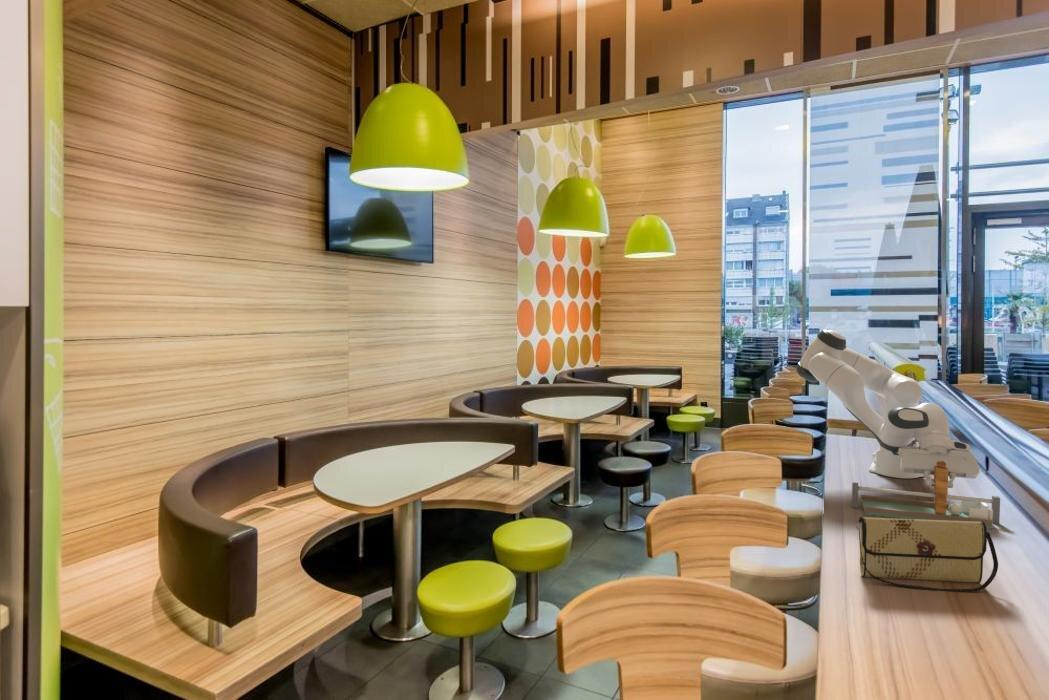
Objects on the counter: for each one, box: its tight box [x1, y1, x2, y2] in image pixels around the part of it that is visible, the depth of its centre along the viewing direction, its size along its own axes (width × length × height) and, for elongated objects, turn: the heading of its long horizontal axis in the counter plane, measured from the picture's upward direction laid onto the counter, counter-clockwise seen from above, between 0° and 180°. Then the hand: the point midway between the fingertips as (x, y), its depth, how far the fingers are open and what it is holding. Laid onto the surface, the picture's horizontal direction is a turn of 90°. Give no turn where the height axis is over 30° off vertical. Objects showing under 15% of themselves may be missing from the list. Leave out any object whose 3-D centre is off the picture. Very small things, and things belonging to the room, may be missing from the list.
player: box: [932, 460, 949, 514], centre depth 178 cm, size 4×3×16 cm
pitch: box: [851, 481, 1001, 530], centre depth 181 cm, size 13×38×8 cm, turn 65°
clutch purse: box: [854, 516, 999, 593], centre depth 136 cm, size 30×7×15 cm, turn 80°
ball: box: [948, 502, 963, 516], centre depth 177 cm, size 4×4×4 cm
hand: (941, 486), depth 178 cm, fingers closed on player, 3 cm apart
